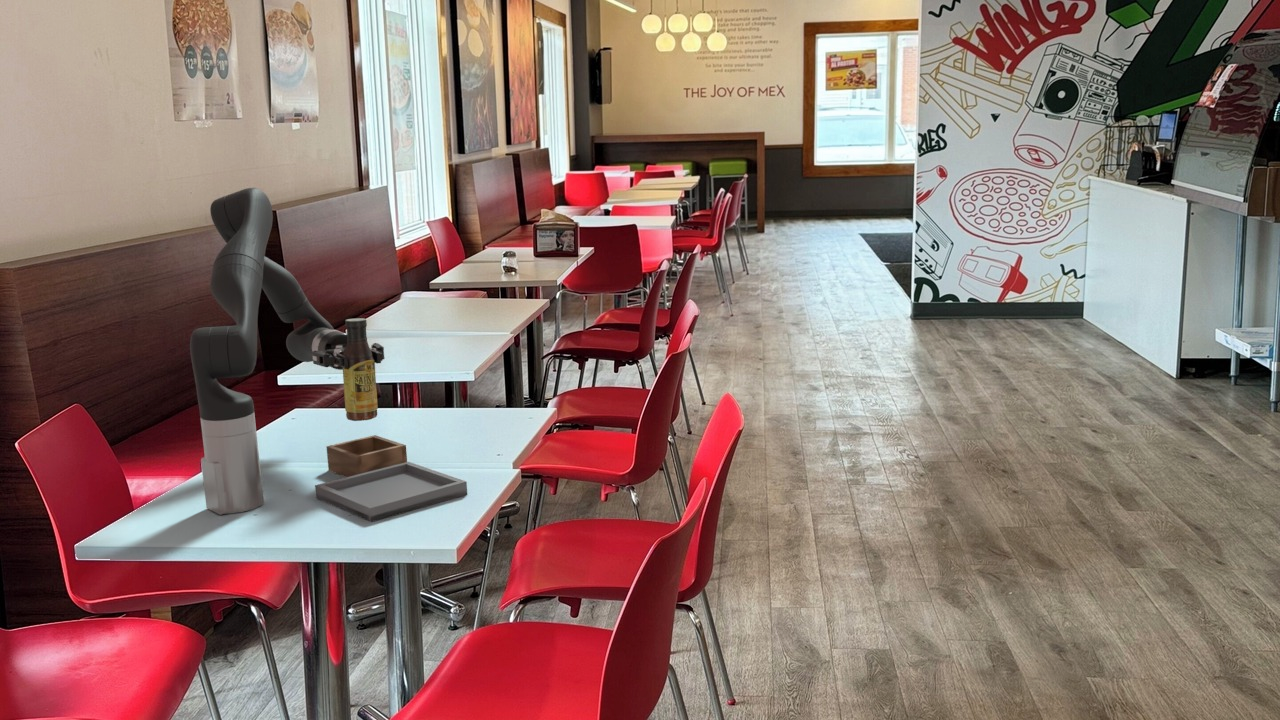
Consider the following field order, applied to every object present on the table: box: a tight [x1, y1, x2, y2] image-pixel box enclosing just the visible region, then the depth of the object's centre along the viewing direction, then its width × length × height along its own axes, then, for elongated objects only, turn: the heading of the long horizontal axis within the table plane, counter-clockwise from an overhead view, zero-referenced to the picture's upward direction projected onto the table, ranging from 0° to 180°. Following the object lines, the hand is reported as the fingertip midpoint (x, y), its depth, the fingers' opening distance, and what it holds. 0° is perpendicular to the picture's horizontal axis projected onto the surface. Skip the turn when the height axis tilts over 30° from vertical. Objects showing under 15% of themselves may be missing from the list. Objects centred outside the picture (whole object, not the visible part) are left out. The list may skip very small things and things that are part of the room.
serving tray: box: [314, 461, 468, 523], centre depth 210 cm, size 20×20×2 cm
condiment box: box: [325, 434, 408, 478], centre depth 227 cm, size 11×12×5 cm
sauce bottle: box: [342, 317, 379, 422], centre depth 224 cm, size 6×6×20 cm
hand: (362, 360), depth 221 cm, fingers closed on sauce bottle, 6 cm apart
